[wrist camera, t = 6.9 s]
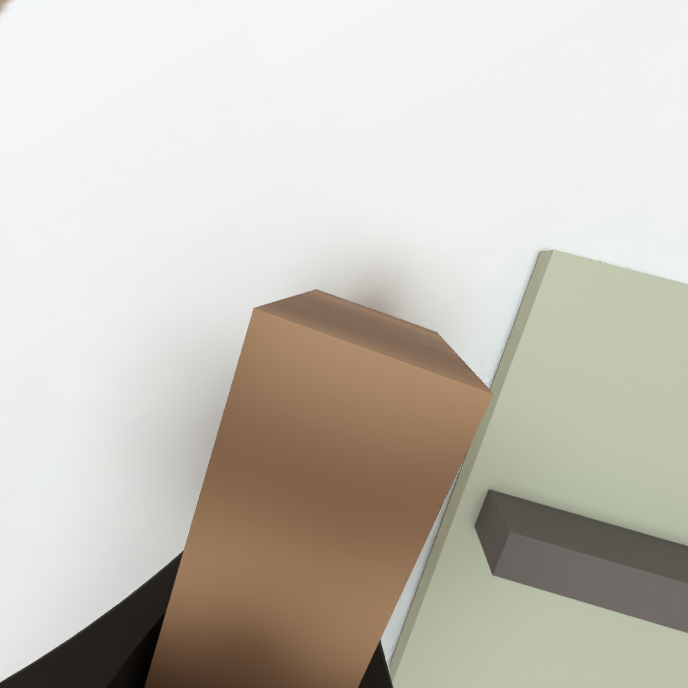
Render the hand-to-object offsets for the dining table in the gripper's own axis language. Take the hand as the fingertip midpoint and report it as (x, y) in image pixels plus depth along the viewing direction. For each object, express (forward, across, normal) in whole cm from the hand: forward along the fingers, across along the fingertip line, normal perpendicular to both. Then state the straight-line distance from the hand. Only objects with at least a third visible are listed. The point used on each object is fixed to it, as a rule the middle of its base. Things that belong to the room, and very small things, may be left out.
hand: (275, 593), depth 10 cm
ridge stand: (+8, -14, 0) cm, 16 cm away
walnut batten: (+2, 0, 0) cm, 2 cm away
